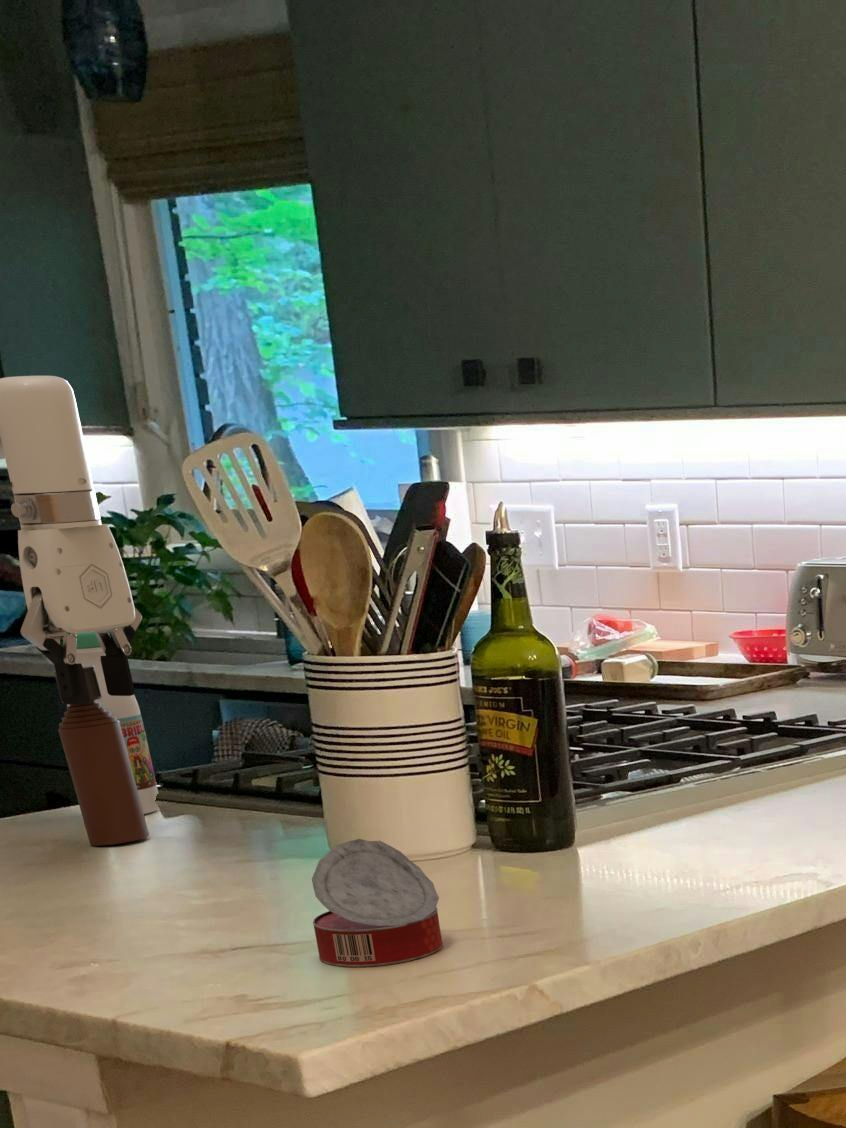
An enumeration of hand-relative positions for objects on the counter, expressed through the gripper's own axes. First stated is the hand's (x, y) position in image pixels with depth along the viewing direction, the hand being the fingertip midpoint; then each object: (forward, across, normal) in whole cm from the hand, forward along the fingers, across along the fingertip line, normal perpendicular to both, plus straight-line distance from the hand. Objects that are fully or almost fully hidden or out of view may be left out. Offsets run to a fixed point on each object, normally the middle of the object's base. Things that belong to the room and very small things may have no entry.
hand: (99, 697), depth 200 cm
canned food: (+15, -32, -58) cm, 68 cm away
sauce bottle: (+15, 0, +1) cm, 15 cm away
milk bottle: (+15, +13, +14) cm, 24 cm away
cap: (0, 0, +2) cm, 2 cm away
